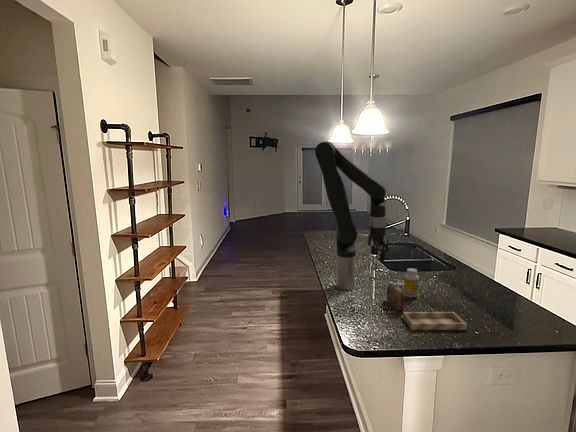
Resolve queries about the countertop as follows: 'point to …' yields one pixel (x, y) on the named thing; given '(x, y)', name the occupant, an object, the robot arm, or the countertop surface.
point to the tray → (434, 321)
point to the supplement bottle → (411, 283)
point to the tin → (396, 297)
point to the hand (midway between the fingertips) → (377, 257)
